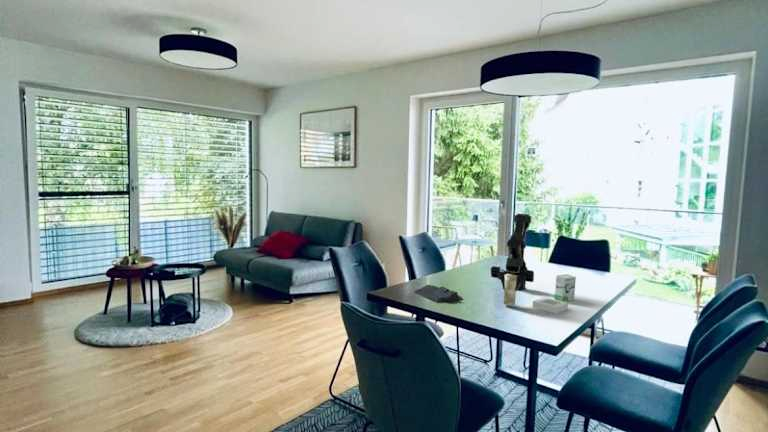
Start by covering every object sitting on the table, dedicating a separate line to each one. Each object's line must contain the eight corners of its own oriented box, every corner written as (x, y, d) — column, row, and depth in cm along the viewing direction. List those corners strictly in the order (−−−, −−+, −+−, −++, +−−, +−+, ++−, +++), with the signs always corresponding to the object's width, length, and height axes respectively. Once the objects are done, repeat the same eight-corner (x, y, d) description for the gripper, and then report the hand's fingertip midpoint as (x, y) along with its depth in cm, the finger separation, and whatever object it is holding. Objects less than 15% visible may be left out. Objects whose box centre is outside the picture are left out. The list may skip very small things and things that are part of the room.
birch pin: (501, 303, 192) (503, 274, 190) (507, 301, 195) (509, 273, 194) (511, 306, 188) (512, 277, 187) (517, 303, 191) (519, 275, 190)
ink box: (562, 302, 201) (564, 277, 200) (553, 299, 205) (555, 275, 204) (574, 300, 205) (576, 276, 204) (565, 297, 209) (567, 273, 208)
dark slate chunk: (436, 289, 218) (436, 280, 218) (465, 301, 199) (466, 291, 199) (411, 293, 210) (411, 283, 210) (439, 305, 191) (440, 295, 191)
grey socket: (532, 307, 191) (532, 301, 191) (544, 303, 198) (544, 297, 198) (556, 314, 183) (556, 307, 182) (567, 309, 190) (568, 302, 190)
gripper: (492, 248, 196) (487, 277, 187) (535, 253, 189) (531, 283, 180) (494, 262, 205) (489, 290, 196) (535, 267, 197) (531, 296, 188)
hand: (509, 289), depth 190 cm, fingers closed on birch pin, 5 cm apart
